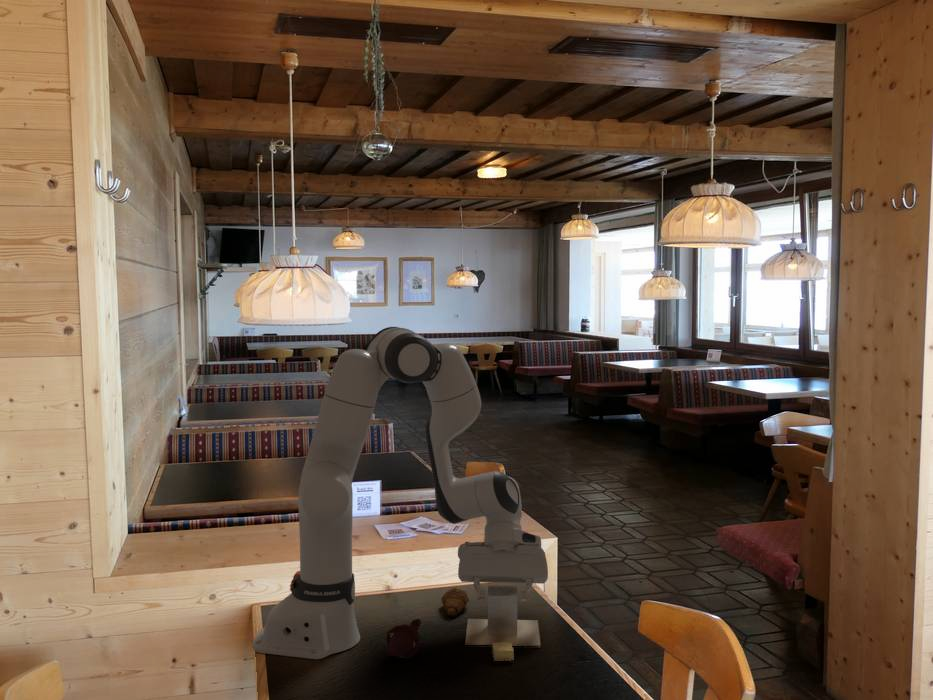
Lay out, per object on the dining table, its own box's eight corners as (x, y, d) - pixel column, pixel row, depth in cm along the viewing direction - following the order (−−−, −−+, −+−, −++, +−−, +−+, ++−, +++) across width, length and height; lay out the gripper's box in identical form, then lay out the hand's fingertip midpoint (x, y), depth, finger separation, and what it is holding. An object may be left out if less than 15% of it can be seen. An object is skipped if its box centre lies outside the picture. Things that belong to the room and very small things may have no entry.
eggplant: (410, 644, 155) (436, 622, 170) (376, 629, 158) (405, 609, 172) (400, 677, 156) (427, 652, 170) (367, 662, 158) (397, 639, 172)
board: (465, 645, 169) (465, 643, 169) (467, 621, 182) (467, 618, 182) (540, 647, 169) (540, 644, 169) (537, 622, 182) (537, 620, 182)
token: (494, 663, 162) (494, 651, 162) (492, 654, 166) (492, 642, 166) (513, 662, 162) (513, 650, 162) (511, 653, 166) (511, 642, 166)
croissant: (465, 620, 183) (465, 599, 183) (436, 618, 184) (436, 597, 184) (472, 598, 197) (472, 578, 196) (445, 597, 198) (445, 577, 197)
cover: (487, 636, 173) (487, 595, 172) (488, 624, 179) (488, 585, 179) (517, 636, 173) (517, 596, 172) (516, 624, 179) (516, 585, 178)
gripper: (457, 535, 182) (455, 592, 173) (547, 536, 181) (549, 594, 172) (458, 548, 187) (456, 604, 178) (546, 549, 186) (547, 606, 177)
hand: (502, 599), depth 175 cm, fingers open, 8 cm apart
